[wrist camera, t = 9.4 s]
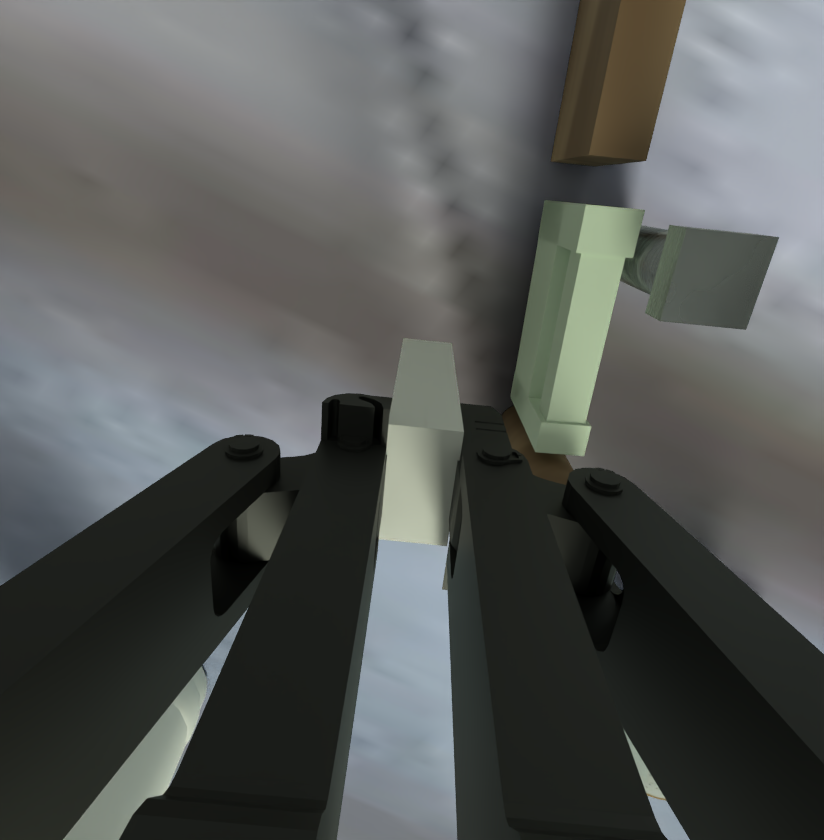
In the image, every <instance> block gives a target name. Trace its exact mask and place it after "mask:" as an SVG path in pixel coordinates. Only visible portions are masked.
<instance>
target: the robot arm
mask: <svg viewBox="0 0 824 840" xmlns="http://www.w3.org/2000/svg"><path fill="white" fill-rule="evenodd" d="M449 533H450V541H449V548H448V554H447V561H446V567H445V574H444V581H443V587H442V589H443V590H448V609H449V634H450V660H451V685H452V711H453V737H454V762H455V788H456V814H457V839H458V840H668V839H667V838H666V837H665V836H664V835H663V833H662V832H661V830H660V827H659V825H658V823H657V821H656V819H655V816H654V814H653V811H652V808H651V805H650V802H649V800H648V797H647V794H646V791H645V788H644V785H643V783H642V780H641V777H640V774H639V771H638V769H637V766H636V763H635V760H634V757H633V755H632V752H631V749H630V746H629V743H628V741H627V738H626V735H625V732H626V734H627V736H628V737H629V739H630V741H631V742H632V744H633V746H634V747H635V749H636V751H637V752H638V754H639V756H640V757H641V759H642V761H643V762H644V764H645V766H646V767H647V769H648V771H649V772H650V774H651V776H652V777H653V779H654V781H655V782H656V784H657V786H658V787H659V789H660V791H661V792H662V794H663V796H664V797H665V799H666V801H667V802H668V804H669V806H670V807H671V809H672V811H673V812H674V814H675V816H676V817H677V819H678V820H679V822H680V824H681V825H682V827H683V829H684V830H685V832H686V834H687V835H688V837H689V839H690V840H824V654H823V653H822V652H821V651H820V650H818V649H817V648H816V647H815V646H814V645H813V644H812V643H811V642H810V641H808V640H807V639H806V638H805V637H804V636H803V635H802V634H801V633H800V632H798V631H797V630H796V629H795V628H794V627H793V626H792V625H791V624H790V623H788V622H787V621H786V620H785V619H784V618H783V617H782V616H781V615H780V614H778V613H777V612H776V611H775V610H774V609H773V608H772V607H771V606H769V605H768V604H767V603H766V602H765V601H764V600H763V599H762V598H761V597H759V596H758V595H757V594H756V593H755V592H754V591H753V590H752V589H751V588H749V587H748V586H747V585H746V584H745V583H744V582H743V581H742V580H741V579H739V578H738V577H737V576H736V575H735V574H734V573H733V572H732V571H730V570H729V569H728V568H727V567H726V566H725V565H724V564H723V563H722V562H720V561H719V560H718V559H717V558H716V557H715V556H714V555H713V554H712V553H710V552H709V551H708V550H707V549H706V548H705V547H704V546H703V545H702V544H700V543H699V542H698V541H697V540H696V539H695V538H694V537H693V536H691V535H690V534H689V533H688V532H687V531H686V530H685V529H684V528H683V527H681V526H680V525H679V524H678V523H677V522H676V521H675V520H674V519H673V518H671V517H670V516H669V515H668V514H667V513H666V512H665V511H664V510H663V509H661V508H660V507H659V506H658V505H657V504H656V503H655V502H654V501H653V500H651V499H650V498H649V497H648V496H647V495H646V494H645V493H644V492H642V491H641V490H640V489H639V488H638V487H637V486H636V485H635V484H633V483H632V482H630V481H629V480H627V479H626V478H625V477H622V476H620V475H618V474H615V472H613V471H610V470H607V469H606V470H604V469H602V468H580V469H575V470H574V471H572V472H570V473H569V476H568V480H567V484H566V485H564V484H560V483H556V482H553V481H549V480H546V479H543V478H540V477H537V476H535V475H533V474H532V471H531V468H530V465H529V462H528V460H527V459H526V458H525V456H524V455H523V454H521V453H520V452H518V451H517V450H515V449H512V447H511V444H510V441H509V437H508V434H507V433H506V428H505V426H504V422H503V419H502V415H501V414H500V413H498V412H497V411H496V410H495V409H493V408H492V407H491V406H481V405H471V404H462V403H460V400H459V392H458V385H457V378H456V371H455V364H454V356H453V349H452V343H445V342H435V341H425V340H416V339H406V338H404V339H403V344H402V349H401V355H400V360H399V366H398V371H397V376H396V382H395V387H394V393H393V398H388V397H379V396H370V395H364V394H350V393H347V394H339V395H334V396H331V397H328V398H326V399H325V400H324V401H323V402H322V426H321V442H320V444H319V446H318V449H317V451H316V453H313V454H309V455H305V456H297V457H282V458H280V448H279V445H278V444H277V443H275V442H274V441H273V440H270V439H267V438H264V437H259V436H254V435H245V436H243V435H236V436H234V437H230V438H225V439H222V440H220V441H218V442H216V443H214V444H212V445H211V446H209V447H208V448H206V449H205V450H203V451H202V452H200V453H199V454H197V455H196V456H194V457H193V458H191V459H190V460H188V461H187V462H185V463H184V464H182V465H181V466H179V467H178V468H176V469H175V470H173V471H172V472H170V473H169V474H167V475H166V476H164V477H163V478H161V479H160V480H158V481H157V482H155V483H154V484H152V485H151V486H149V487H148V488H146V489H145V490H143V491H142V492H140V493H139V494H137V495H136V496H134V497H133V498H131V499H130V500H128V501H127V502H125V503H124V504H122V505H121V506H119V507H118V508H116V509H115V510H113V511H112V512H110V513H109V514H107V515H106V516H104V517H103V518H101V519H100V520H98V521H97V522H95V523H94V524H92V525H91V526H89V527H88V528H86V529H85V530H83V531H82V532H80V533H79V534H77V535H76V536H74V537H73V538H71V539H70V540H68V541H67V542H65V543H64V544H62V545H61V546H59V547H58V548H56V549H55V550H53V551H52V552H50V553H49V554H47V555H46V556H44V557H43V558H41V559H40V560H38V561H37V562H35V563H34V564H32V565H31V566H30V567H28V568H27V569H25V570H24V571H22V572H21V573H19V574H18V575H16V576H15V577H13V578H12V579H10V580H9V581H7V582H6V583H4V584H3V585H1V586H0V840H63V839H64V838H65V837H66V835H67V834H68V833H69V832H70V830H71V829H72V828H73V827H74V825H75V824H76V823H77V822H78V820H79V819H80V818H81V817H82V815H83V814H84V813H85V811H86V810H87V809H88V808H89V806H90V805H91V804H92V803H93V801H94V800H95V799H96V798H97V796H98V795H99V794H100V793H101V791H102V790H103V789H104V788H105V786H106V785H107V784H108V783H109V781H110V780H111V779H112V778H113V776H114V775H115V774H116V773H117V771H118V770H119V769H120V768H121V766H122V765H123V764H124V763H125V761H126V760H127V759H128V758H129V756H130V755H131V754H132V753H133V751H134V750H135V749H136V748H137V746H138V745H139V744H140V743H141V741H142V740H143V739H144V738H145V736H146V735H147V734H148V733H149V731H150V730H151V729H152V728H153V726H154V725H155V724H156V723H157V721H158V720H159V719H160V718H161V716H162V715H163V714H164V712H165V711H166V710H167V709H168V707H169V706H170V705H171V704H172V702H173V701H174V700H175V699H176V697H177V696H178V695H179V694H180V692H181V691H182V690H183V689H184V687H185V686H186V685H187V684H188V682H189V681H190V680H191V679H192V677H193V676H194V675H195V674H196V672H197V671H198V670H199V669H200V667H201V666H202V665H203V664H204V662H205V661H206V660H207V659H208V657H209V656H210V655H211V654H212V652H213V651H214V650H215V649H216V647H217V646H218V645H219V644H220V642H221V641H222V640H223V639H224V637H225V636H226V635H227V634H228V632H229V631H230V630H231V629H232V627H233V626H234V625H235V624H236V622H237V621H238V620H239V618H240V617H241V616H242V615H243V613H244V612H245V611H246V610H247V608H248V607H249V608H248V610H247V612H246V614H245V617H244V619H243V621H242V624H241V626H240V628H239V631H238V633H237V635H236V637H235V640H234V642H233V644H232V647H231V649H230V651H229V654H228V656H227V658H226V661H225V663H224V665H223V667H222V670H221V672H220V674H219V677H218V679H217V681H216V684H215V686H214V688H213V690H212V693H211V695H210V697H209V700H208V702H207V704H206V707H205V709H204V711H203V714H202V716H201V718H200V720H199V723H198V725H197V727H196V730H195V732H194V734H193V737H192V739H191V741H190V743H189V746H188V748H187V750H186V753H185V755H184V757H183V760H182V762H181V764H180V767H179V769H178V771H177V773H176V775H175V777H174V779H173V781H172V783H171V785H170V787H169V788H168V789H167V790H166V791H165V793H164V794H163V795H160V796H155V797H150V798H147V799H146V800H145V801H144V802H143V803H142V804H141V806H140V807H139V808H138V809H137V810H136V811H135V812H134V814H133V815H132V817H131V819H130V820H129V822H128V824H127V826H126V828H125V829H124V831H123V833H122V835H121V837H120V838H119V840H337V833H338V826H339V819H340V812H341V805H342V798H343V791H344V784H345V777H346V770H347V763H348V756H349V749H350V742H351V735H352V728H353V721H354V714H355V707H356V700H357V693H358V686H359V679H360V672H361V665H362V658H363V651H364V644H365V637H366V630H367V623H368V616H369V609H370V602H371V595H372V588H373V581H374V574H375V567H376V560H377V552H378V541H379V539H382V540H392V541H402V542H412V543H422V544H432V545H442V546H447V542H448V535H449ZM616 571H618V573H619V574H620V576H621V579H622V582H623V588H624V589H623V591H621V590H620V589H619V588H618V587H617V585H616V584H615V583H614V582H613V581H614V578H615V575H616ZM624 731H625V732H624Z"/></svg>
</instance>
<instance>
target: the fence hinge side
mask: <svg viewBox="0 0 824 840" xmlns="http://www.w3.org/2000/svg"><path fill="white" fill-rule="evenodd" d="M502 419H503V422H504V426H505V428H506V433H507V434H508V437H509V441H510V444H511V447H512V449H515V450H517V451H518V452H520V453H521V454H523V455H524V456H525V458H526V459H527V460H528V462H529V465H530V468H531V471H532V474H533V475H535V476H537V477H540V478H543V479H546V480H549V481H553V482H556V483H560V484H564V485H566V484H567V480H568V476H569V473H570V472H572V471H574V470H573V469H572V467H571V465H570V463H569V461H568V460H567V458H566V456H565V455H564V454H551V453H539V452H535V450H534V448H533V446H532V444H531V442H530V439H529V437H528V435H527V433H526V431H525V428H524V426H523V424H522V422H521V420H520V417H519V415H518V413H517V411H516V409H515V406H512V407H510V408H508V409H507V410H506V411H505V412H504V413H503V414H502Z"/></svg>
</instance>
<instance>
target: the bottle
mask: <svg viewBox="0 0 824 840" xmlns="http://www.w3.org/2000/svg"><path fill="white" fill-rule="evenodd" d="M206 691H207V678H206V675H205V673H204V670H203V668H202V666H201V667H200V669H199V670H198V671H197V672H196V674H195V675H194V676H193V677H192V679H191V680H190V681H189V682H188V684H187V685H186V686H185V687H184V689H183V690H182V691H181V692H180V694H179V695H178V696H177V697H176V699H175V700H174V701H173V702H172V704H171V705H170V706H169V707H168V709H167V710H166V711H165V712H164V714H163V715H162V716H161V718H160V719H159V720H158V721H157V723H156V724H155V725H154V726H153V728H152V729H151V730H150V731H149V733H148V734H147V735H146V736H145V738H144V739H143V740H142V741H141V743H140V744H139V745H138V746H137V748H136V749H135V750H134V751H133V753H132V754H131V755H130V756H129V758H128V759H127V760H126V761H125V763H124V764H123V765H122V766H121V768H120V769H119V770H118V771H117V773H116V774H115V775H114V776H113V778H112V779H111V780H110V781H109V783H108V784H107V785H106V786H105V788H104V789H103V790H102V791H101V793H100V794H99V795H98V796H97V798H96V799H95V800H94V801H93V803H92V804H91V805H90V806H89V808H88V809H87V810H86V811H85V813H84V814H83V815H82V817H81V818H80V819H79V820H78V822H77V823H76V824H75V825H74V827H73V828H72V829H71V830H70V832H69V833H68V834H67V835H66V837H65V838H64V839H63V840H119V838H120V837H121V835H122V833H123V831H124V829H125V828H126V826H127V824H128V822H129V820H130V819H131V817H132V815H133V814H134V812H135V811H136V810H137V809H138V808H139V807H140V806H141V804H142V803H143V802H144V801H145V800H146V799H147V798H150V797H155V796H160V795H163V794H164V793H165V791H166V790H167V789H168V787H169V784H170V782H171V779H172V777H173V774H174V772H175V769H176V767H177V765H178V762H179V760H180V757H181V755H182V752H183V750H184V748H185V745H186V744H187V743H188V741H189V739H190V737H191V735H192V733H193V731H194V728H195V726H196V723H197V720H198V718H199V715H200V709H201V706H202V704H203V701H204V699H205V696H206Z"/></svg>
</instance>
